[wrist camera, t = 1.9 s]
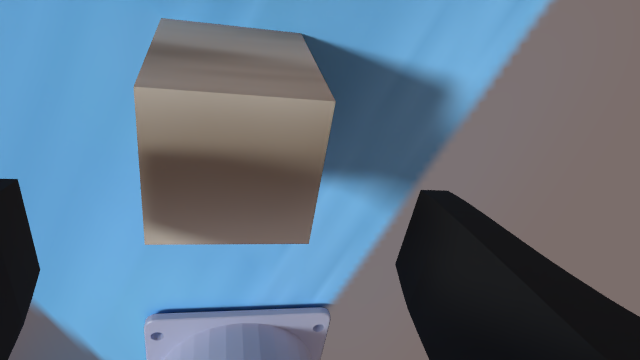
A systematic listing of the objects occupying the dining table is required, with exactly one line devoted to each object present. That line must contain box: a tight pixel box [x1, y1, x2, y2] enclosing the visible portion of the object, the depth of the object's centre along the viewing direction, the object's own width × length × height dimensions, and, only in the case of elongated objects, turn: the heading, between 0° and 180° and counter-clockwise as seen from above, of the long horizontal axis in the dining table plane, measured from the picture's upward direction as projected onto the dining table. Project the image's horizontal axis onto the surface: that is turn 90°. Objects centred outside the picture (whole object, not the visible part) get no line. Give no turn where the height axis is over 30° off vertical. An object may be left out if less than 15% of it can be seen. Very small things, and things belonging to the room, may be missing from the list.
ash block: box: [134, 18, 336, 245], centre depth 12 cm, size 4×4×5 cm
